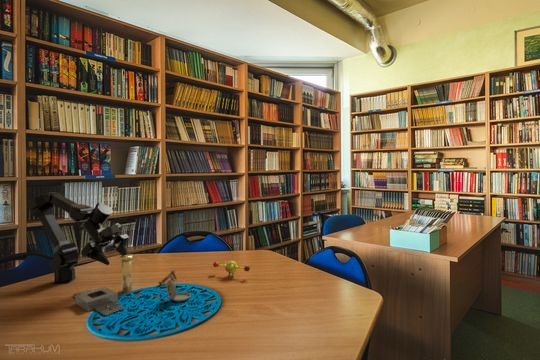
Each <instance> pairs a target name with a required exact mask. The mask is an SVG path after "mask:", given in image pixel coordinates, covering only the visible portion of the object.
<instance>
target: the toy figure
mask: <svg viewBox="0 0 540 360" xmlns="http://www.w3.org/2000/svg"><path fill="white" fill-rule="evenodd" d="M212 266H213V267H214V268H218V267H219V266H220V268H224V269H225V271H226V272H227V273H228V275H227V276H228V277H231V278H232V277H235V275H234V273H235V272H236V271H237V270H242V269H243V270H244V272H249V271H250V270H251V269H250V268H251V267H250V266H249V265H244V267H242V266H238V264H237V262H235V261H234V260H229V261H226V263H224V264H223V263H222V264H220V263H219V262H218V261H214V262H213V264H212Z"/></svg>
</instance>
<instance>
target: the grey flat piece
mask: <svg viewBox="0 0 540 360" xmlns="http://www.w3.org/2000/svg"><path fill="white" fill-rule="evenodd" d="M72 297H73V298H75V302H74V303H75V305H77V306H78V307H80V308H82V309H83V310H84V311H86V312H90V311H91V312H92V311H94V310H95V311H96V312H97V313H99V312H100V313H99V314H101V313H102V314H101V315H103V316H104V315H105V317H107V316H110V315H112V314H111V313H113V312H116V311H118V312H120V311H119V310H121V311H123V310H122V309H124V308H125V307H122V306H121V305H119V304H118V303H117V302H119V293H118V292H116V291H115V290H113V289H110V288H109V287H106V286H103V287H99V288H96V289H93V290H91V289H88V290H85V291H81V292H78V293H75V294H72ZM124 310H125V309H124ZM116 313H117V312H116ZM109 314H110V315H109ZM113 314H114V313H113ZM106 315H107V316H106Z"/></svg>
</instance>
